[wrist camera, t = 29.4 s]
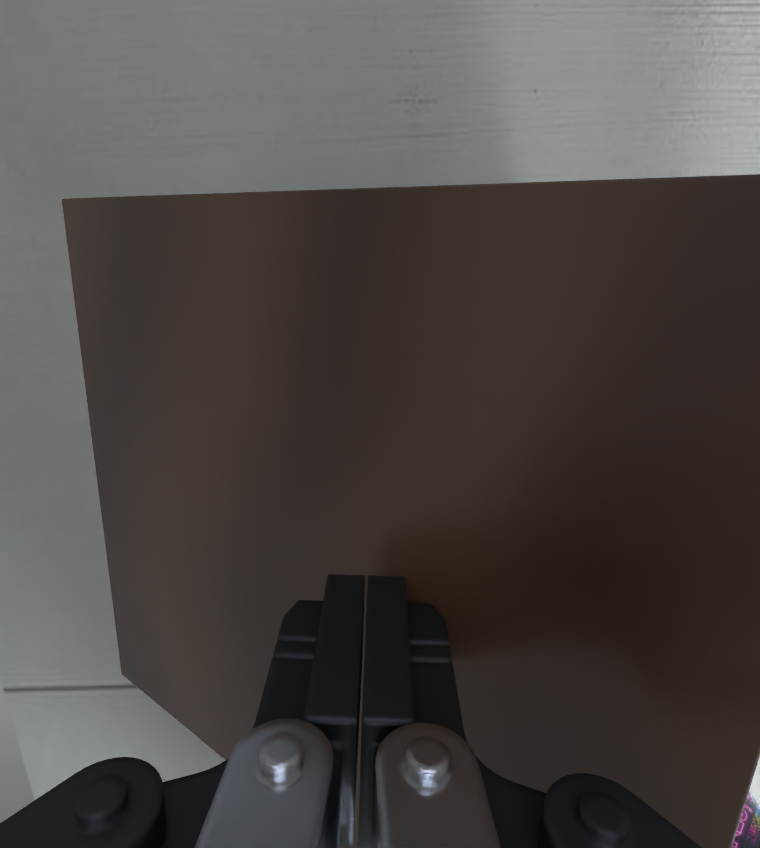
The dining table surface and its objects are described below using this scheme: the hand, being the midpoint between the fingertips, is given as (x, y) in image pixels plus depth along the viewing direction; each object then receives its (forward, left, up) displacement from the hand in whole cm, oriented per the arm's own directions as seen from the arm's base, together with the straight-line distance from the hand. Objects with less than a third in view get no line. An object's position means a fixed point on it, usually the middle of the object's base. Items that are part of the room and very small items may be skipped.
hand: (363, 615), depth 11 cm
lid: (-1, +1, -2) cm, 3 cm away
